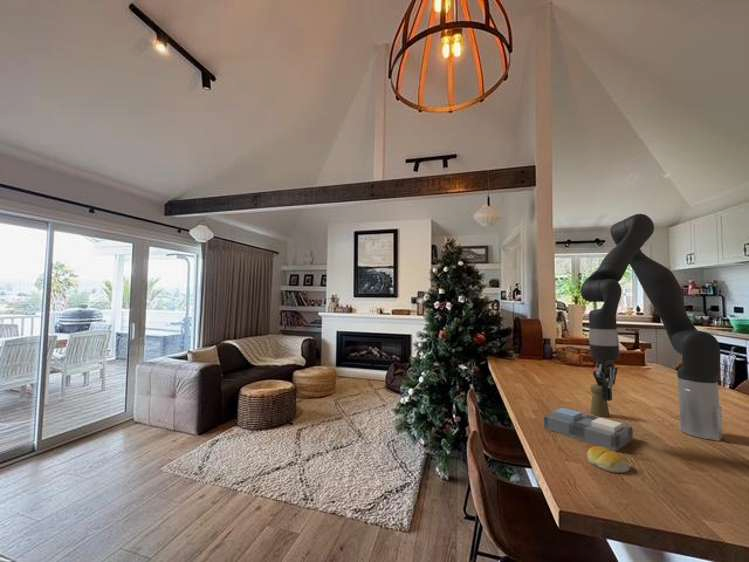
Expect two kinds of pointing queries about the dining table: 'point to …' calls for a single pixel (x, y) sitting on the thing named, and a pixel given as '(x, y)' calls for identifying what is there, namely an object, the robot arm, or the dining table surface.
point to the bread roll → (607, 459)
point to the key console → (589, 431)
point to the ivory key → (606, 425)
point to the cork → (598, 402)
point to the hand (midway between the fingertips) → (607, 399)
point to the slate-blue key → (568, 414)
